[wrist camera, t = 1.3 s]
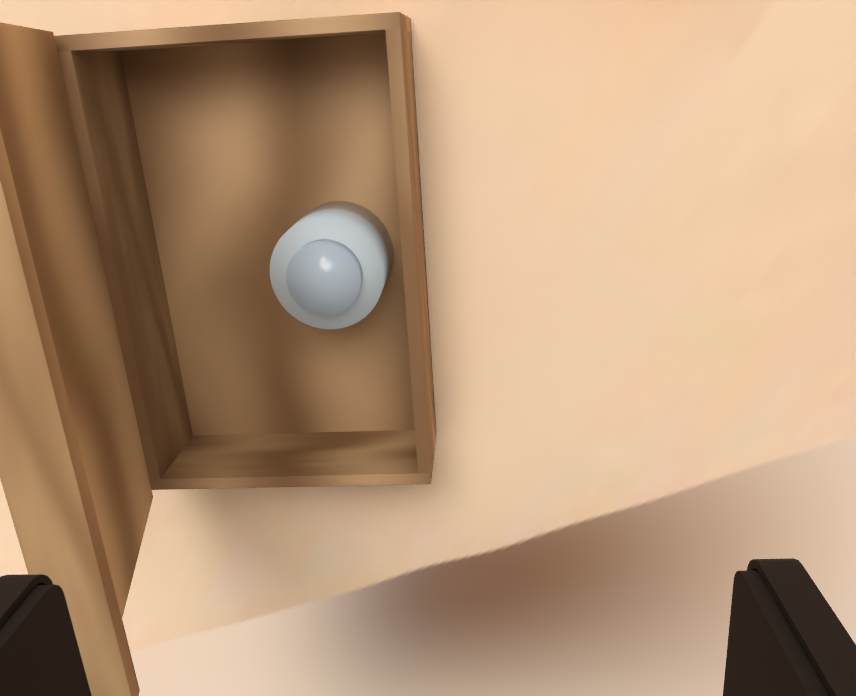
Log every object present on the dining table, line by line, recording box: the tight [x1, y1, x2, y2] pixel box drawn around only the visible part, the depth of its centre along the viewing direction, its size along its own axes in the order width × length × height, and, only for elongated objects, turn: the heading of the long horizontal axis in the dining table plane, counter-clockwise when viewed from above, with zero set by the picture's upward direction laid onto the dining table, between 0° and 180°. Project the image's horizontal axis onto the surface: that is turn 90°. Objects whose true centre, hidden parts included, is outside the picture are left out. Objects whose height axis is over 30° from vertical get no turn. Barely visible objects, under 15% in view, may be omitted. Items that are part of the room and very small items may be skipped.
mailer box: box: [54, 12, 436, 490], centre depth 31 cm, size 12×18×4 cm, turn 3°
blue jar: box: [270, 201, 393, 329], centre depth 31 cm, size 4×4×4 cm
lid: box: [0, 23, 153, 696], centre depth 23 cm, size 13×18×2 cm
